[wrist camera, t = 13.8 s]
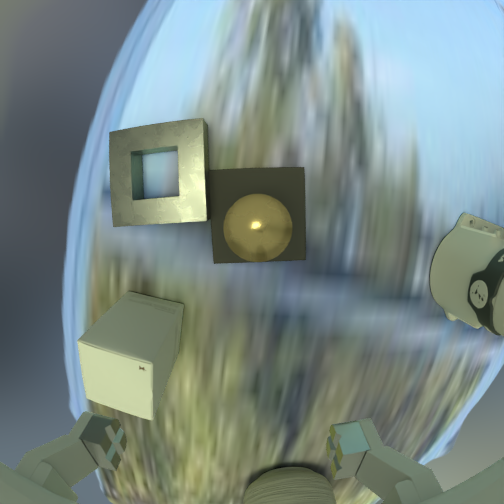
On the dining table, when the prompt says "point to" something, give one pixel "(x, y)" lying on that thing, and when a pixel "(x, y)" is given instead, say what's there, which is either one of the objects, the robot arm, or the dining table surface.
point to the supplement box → (131, 353)
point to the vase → (290, 488)
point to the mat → (258, 182)
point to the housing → (131, 173)
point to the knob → (257, 227)
